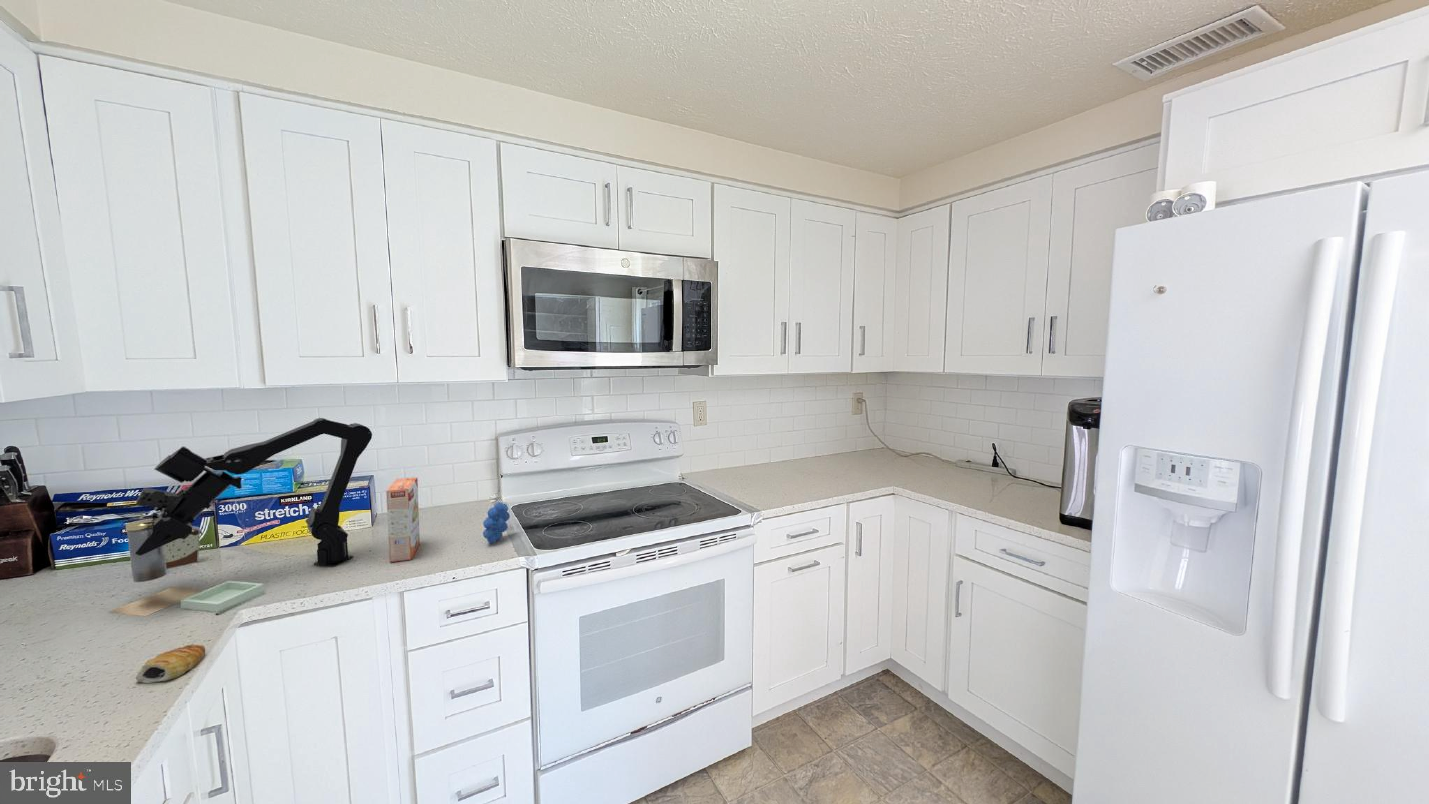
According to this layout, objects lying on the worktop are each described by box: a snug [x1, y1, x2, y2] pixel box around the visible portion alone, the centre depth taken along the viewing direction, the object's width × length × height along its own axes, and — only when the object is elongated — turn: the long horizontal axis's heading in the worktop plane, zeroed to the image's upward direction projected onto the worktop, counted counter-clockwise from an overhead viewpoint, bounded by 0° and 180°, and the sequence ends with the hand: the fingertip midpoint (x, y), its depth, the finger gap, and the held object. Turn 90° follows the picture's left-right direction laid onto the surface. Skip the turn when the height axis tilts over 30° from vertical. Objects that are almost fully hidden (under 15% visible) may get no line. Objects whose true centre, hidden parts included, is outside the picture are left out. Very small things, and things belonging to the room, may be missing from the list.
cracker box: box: [385, 477, 421, 563], centre depth 147 cm, size 14×6×21 cm, turn 22°
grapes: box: [482, 501, 511, 544], centre depth 158 cm, size 12×7×12 cm, turn 168°
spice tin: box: [125, 517, 168, 583], centre depth 116 cm, size 5×5×13 cm
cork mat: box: [107, 587, 206, 617], centre depth 118 cm, size 12×10×1 cm
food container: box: [164, 525, 204, 570], centre depth 137 cm, size 12×6×10 cm, turn 141°
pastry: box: [135, 644, 206, 684], centre depth 94 cm, size 9×7×4 cm
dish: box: [180, 580, 265, 616], centre depth 119 cm, size 10×10×2 cm
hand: (138, 551), depth 115 cm, fingers closed on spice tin, 5 cm apart
